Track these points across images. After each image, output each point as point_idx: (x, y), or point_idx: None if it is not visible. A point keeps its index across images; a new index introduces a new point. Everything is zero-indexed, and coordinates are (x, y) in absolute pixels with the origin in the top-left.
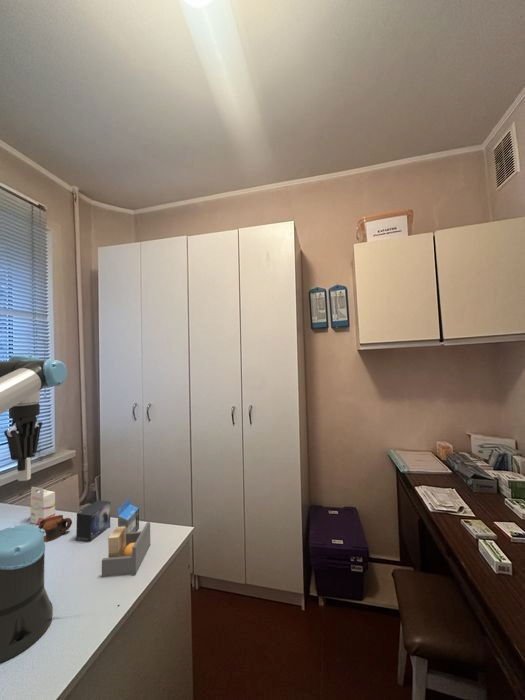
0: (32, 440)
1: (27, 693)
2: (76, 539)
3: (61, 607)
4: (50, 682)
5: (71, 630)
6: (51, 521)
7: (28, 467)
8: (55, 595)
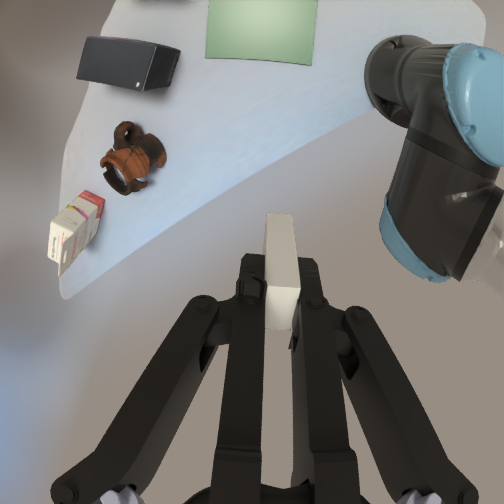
0: (230, 396)
1: (483, 41)
2: (167, 85)
3: (374, 29)
4: (477, 21)
5: (420, 7)
6: (132, 165)
7: (286, 250)
8: (343, 47)
